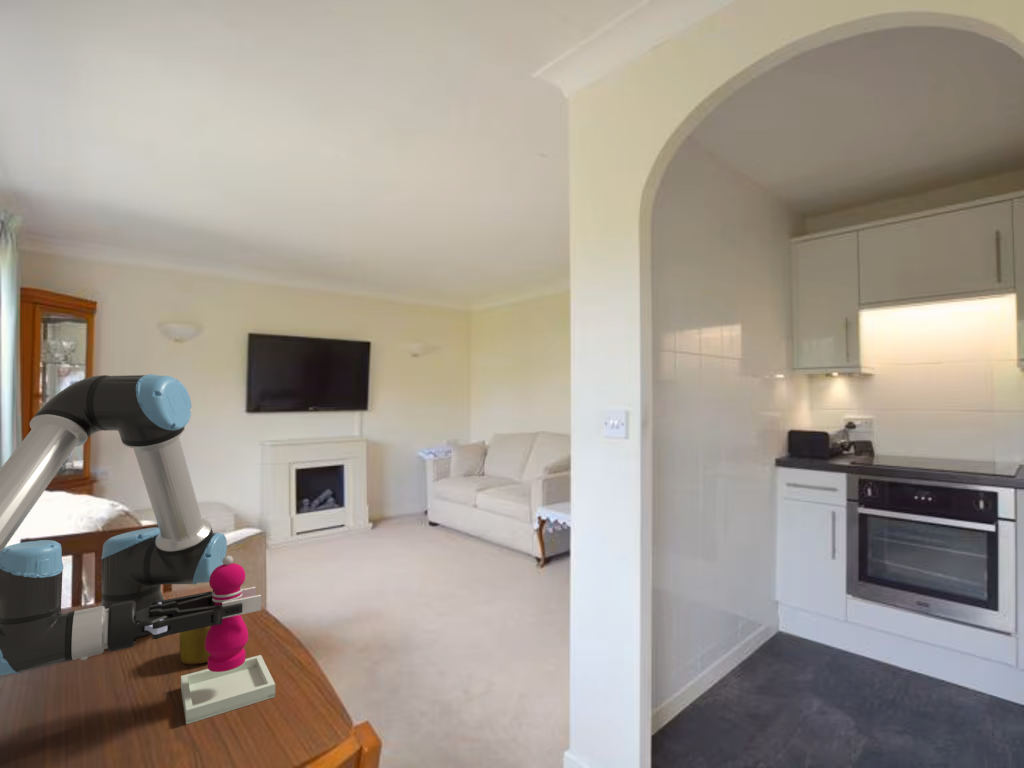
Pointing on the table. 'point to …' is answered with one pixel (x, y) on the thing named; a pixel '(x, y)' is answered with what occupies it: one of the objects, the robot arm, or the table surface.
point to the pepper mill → (226, 619)
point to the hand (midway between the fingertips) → (257, 598)
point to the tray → (225, 689)
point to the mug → (194, 646)
